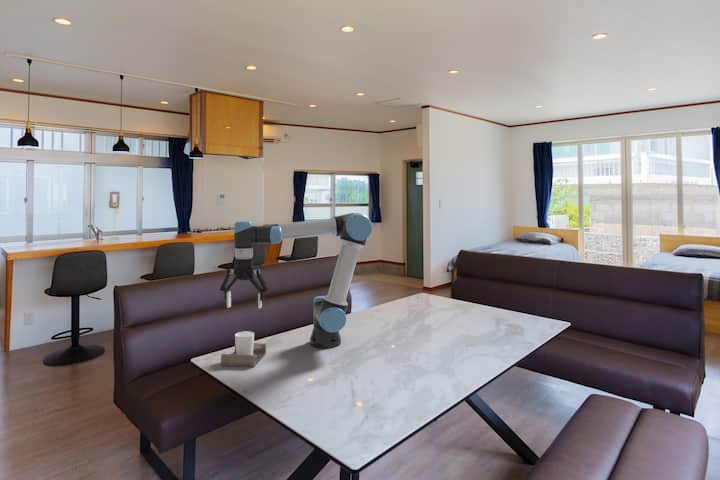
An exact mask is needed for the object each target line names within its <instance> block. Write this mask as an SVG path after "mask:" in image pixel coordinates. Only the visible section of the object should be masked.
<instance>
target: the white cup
mask: <svg viewBox="0 0 720 480" xmlns="http://www.w3.org/2000/svg"><path fill="white" fill-rule="evenodd" d="M234 341H235V342H234V345H235V344H236V354H237V355H253V348H254V343H255V332H253V331H245V330H244V331H239V332H236V333H235V334H234Z"/></svg>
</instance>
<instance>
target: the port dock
mask: <svg viewBox="0 0 720 480" xmlns="http://www.w3.org/2000/svg"><path fill="white" fill-rule="evenodd" d="M266 355H267V343H260V342H259V343H255V342H254V348H253V355H237V354H236V344H235V343H234V350H233V352H232V353H222V354H220V364H221V367H240V368H255V367H256V366H257V365H258V364H259V362H260V361H261V360H262V359H263V358H264V357H265V356H266Z"/></svg>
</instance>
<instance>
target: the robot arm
mask: <svg viewBox="0 0 720 480" xmlns="http://www.w3.org/2000/svg"><path fill="white" fill-rule="evenodd" d="M233 226H234V228H233V231H234V232H233V236H234V237H233V239H234V241H233V242H234V269H233V268H229V269H227V270H226V275H225V278H224V280H223V282H222V284H221V286H220V287H219V291H222V292H224V300H226V308H227V309H228V308H231V307H232V291H231V289H232V287H233V286H234V285H235V284H236V283H237V282H238V280H239V281H249V282H250V283H251V284H252V285H253V286H254V287H255V289H257V291H258V293H257V306H258V307H257V309H259V310H261V309H262V307H263V301H264V300H265V293H266V292H268V291H269V287H268V285H267V283H266V281H265V279H264V277H263V275H262V271H261V269H260V268H259V269H254V258H253V257H254V245H255V244H258V245H261V244H262V245H264V244H266V245H270V244H271V245H275V244H281V242H282V241H283V240H292V239H293V240H294V239H301V238H314V237H324V236H334V237H336V238H337V237H339V240H340V242H341V247H340V250H339V253H338V256H337V260H336V264H335V267H334V270H333V275H332V277H331V281H330V285H329V289H328V292H327V294H326V295H318V296H315V297H314V298H313V328H312V331H311V333H310V334H311V335H310V337H309V345H311V346H312V347H314V348H318V349H319V348H320V349H329V348H336V347H338V346H340V345H342V337H341V334H340V331H342V330H343V328H344V327H345V325H346V323H347V315H346V313H347V310H348V305H349V303H348V302H347V297H348V294H349V290H350V285H351V282H352V279H353V276H354V274H355V269H356V266H357V262H358V259H359V255H360V251H361V250H362V248H365V246H366V243H367V239H368V238H369V237H370V236H371V234H372V231H373V222H372V221H371V219H370V218H369V217H368V215H365V214H364V213H360V212H350V213H345V214H342V215H336V216H332V217H331V218H329V219H328V218H326V219H315V220H306V221H305V220H304V221H296V222H295V221H293V222H284V223H274V224H267V223H266V224H263V225H261V226H260V225H259V226H257V225H254V224H253V221H246V220H244V221H243V220H242V221H236V222H235V223H234V225H233ZM232 275H235V277H234V278H233V279H232V280H231V281H230V283H229V280H230V279H231V276H232ZM254 275H255V276H256V278H257V279H256V278H255V277H254ZM257 280H258V281H257ZM228 283H229V284H228Z"/></svg>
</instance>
